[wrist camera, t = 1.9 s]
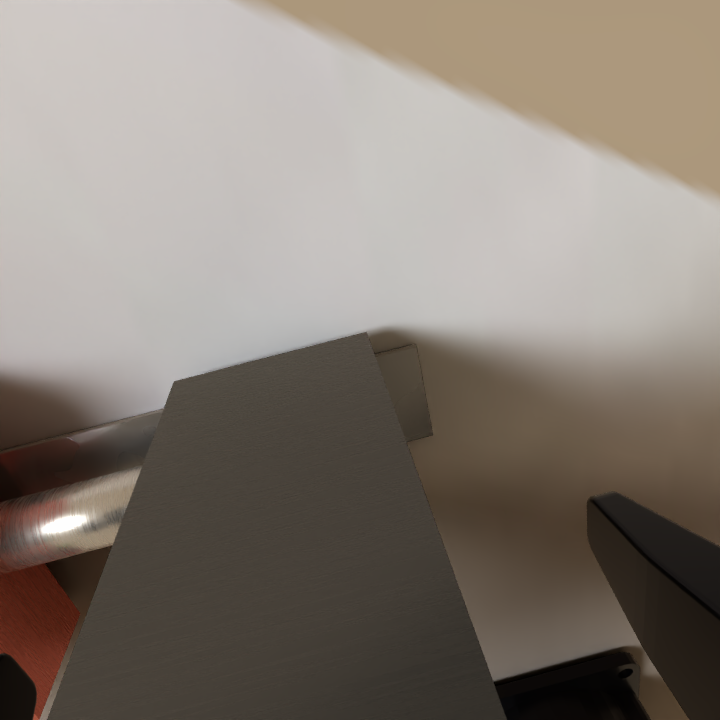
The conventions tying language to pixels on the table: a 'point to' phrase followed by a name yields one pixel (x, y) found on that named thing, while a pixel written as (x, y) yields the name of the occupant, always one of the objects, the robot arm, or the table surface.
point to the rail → (134, 435)
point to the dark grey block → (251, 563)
